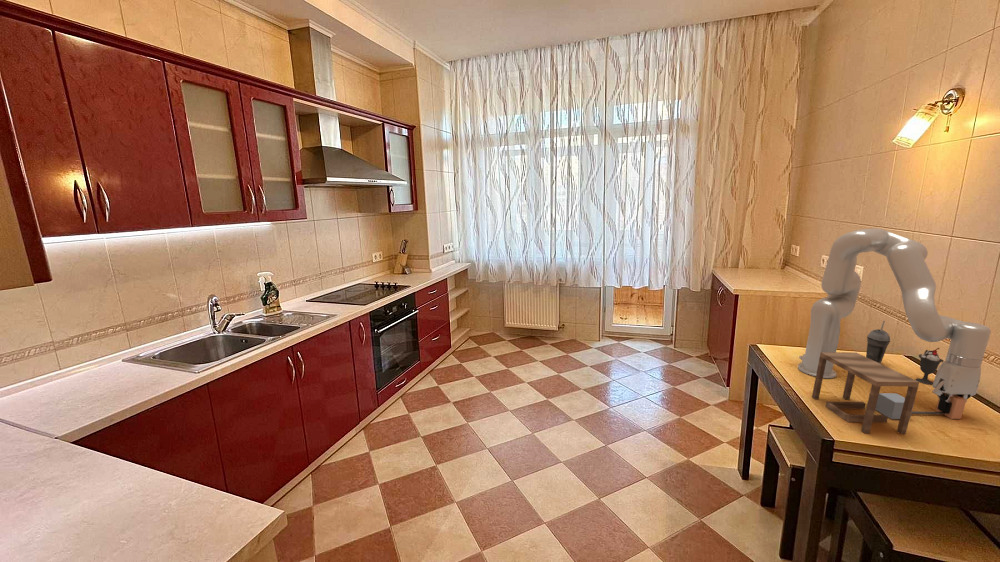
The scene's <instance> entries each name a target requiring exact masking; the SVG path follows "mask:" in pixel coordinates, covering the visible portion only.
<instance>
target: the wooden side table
mask: <svg viewBox="0 0 1000 562" xmlns="http://www.w3.org/2000/svg"><path fill="white" fill-rule="evenodd" d="M826 360H828V361H830V362H831V363H833V364H834V365H835V366H837V367H839V368H841V369H843V370H844V371H846V372H847V376H846V381H845V384H844V388H843V393H842V399H844V400H846V401H826V402H825V405H824V406H825V408H827V410H829V411H831V412H832V413H833V414H834V415H836V416H838V417H839V418H841V419H842V420H844V421H846V422H847V423H862V425H861V429H860V431H861V433H863V434H864V435H865V434H866V435H870V434H871V430H872V425H873V423H888V420H889V417H887V416H886V415H884V414H875V413H876V410H875V409H876V404H877V400H878V396H879V393H880V391H881V387H899V388H900V387H907V388H906V393H905V394H906V395H905V397H904V398H905V401H904V405H903V409H902V413H901V416H900V419H898V420H899V421H898V426H897V429H896V432H897V433H898V432H899V433H898V434H900V435H906V434H907V431H908V426H909V422H910V420H911V417H910V415H911V416H912V414H911V412H912V411H913V409H912V408H914V405H915V400H916V396H917V392H918V388H919V384H920V382H918V381H916V379H913V378H911V377H909V376H907V375H906V374H903V373H901V372H898V371H897V370H895V369H892V368H891V367H888V366H886V365H884V364H882V363H881V364H880V363H878V362H875V361H873V360H871V359H869V358H867V357H866V355H862V354H860V353H858V352H849V351H847V352H843V351H842V352H840V351H839V352H838V351H836V352H820V358H819V363H818V368H817V373H816V377H815V379H814V384H813V390H812V395H811V398H812V399H813V400H819V398H820V394H821V389H822V384H823V380H824V378H823V375H824V370H825V365H826ZM855 377H858V378H859V379H862V380H863V381H865V382H867V383H869V384H871V385H870V391H869V395H868V400H867V403H865V402H864V401H850V399H851V396H852V391H853V387H854V381H855ZM848 400H849V401H848ZM913 404H914V405H913ZM845 409H848V410H853V409H854V410H865V413H864V414H848V413H847V412H845V411H843V410H845Z"/></svg>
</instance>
